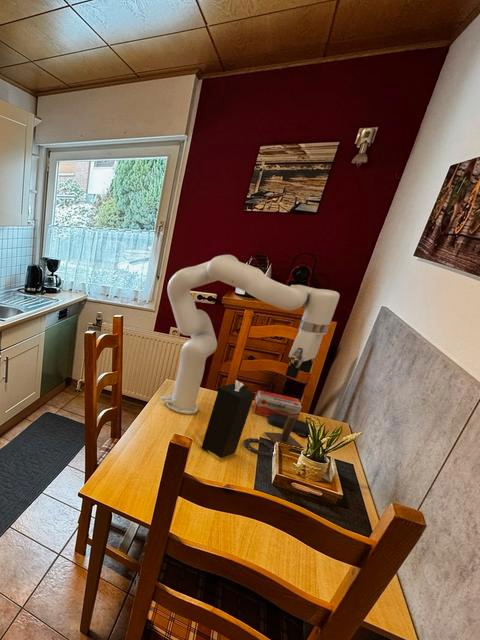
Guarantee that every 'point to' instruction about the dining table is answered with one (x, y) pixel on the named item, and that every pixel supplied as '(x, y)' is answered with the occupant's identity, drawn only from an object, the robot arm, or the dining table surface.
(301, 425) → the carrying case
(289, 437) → the post
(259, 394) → the medicine box
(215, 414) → the tissue box
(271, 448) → the ring
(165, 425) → the dining table surface
